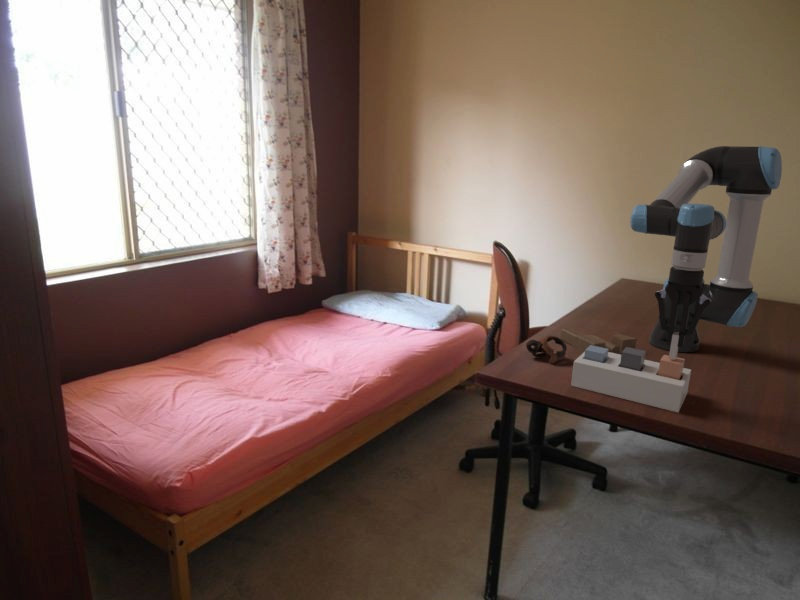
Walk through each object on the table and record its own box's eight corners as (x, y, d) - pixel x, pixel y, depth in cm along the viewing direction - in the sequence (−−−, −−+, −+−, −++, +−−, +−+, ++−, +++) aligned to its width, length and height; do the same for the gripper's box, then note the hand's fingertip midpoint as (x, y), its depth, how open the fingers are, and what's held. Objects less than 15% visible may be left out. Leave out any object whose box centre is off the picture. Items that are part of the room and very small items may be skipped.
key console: (687, 393, 153) (691, 369, 151) (678, 412, 141) (682, 386, 140) (586, 370, 167) (588, 347, 165) (570, 385, 156) (573, 361, 154)
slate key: (606, 365, 159) (608, 348, 158) (601, 371, 155) (603, 353, 154) (588, 361, 162) (590, 345, 160) (583, 366, 158) (585, 349, 156)
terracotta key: (681, 376, 148) (684, 358, 147) (678, 383, 144) (681, 364, 143) (661, 372, 151) (663, 354, 150) (657, 378, 147) (660, 360, 146)
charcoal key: (643, 368, 153) (645, 350, 152) (639, 374, 149) (641, 356, 148) (623, 364, 156) (626, 346, 155) (619, 369, 152) (621, 351, 151)
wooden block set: (596, 342, 176) (560, 325, 192) (594, 359, 178) (559, 341, 194) (639, 337, 182) (601, 321, 198) (637, 353, 184) (599, 336, 200)
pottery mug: (553, 353, 182) (566, 336, 177) (558, 376, 175) (572, 358, 170) (519, 344, 180) (530, 326, 175) (523, 367, 173) (535, 349, 167)
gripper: (656, 266, 141) (642, 356, 147) (715, 273, 134) (698, 368, 140) (661, 262, 147) (648, 348, 153) (719, 269, 140) (702, 359, 146)
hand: (672, 357), depth 146 cm, fingers closed
